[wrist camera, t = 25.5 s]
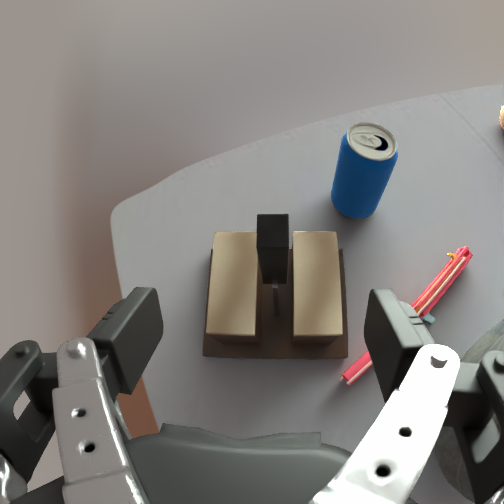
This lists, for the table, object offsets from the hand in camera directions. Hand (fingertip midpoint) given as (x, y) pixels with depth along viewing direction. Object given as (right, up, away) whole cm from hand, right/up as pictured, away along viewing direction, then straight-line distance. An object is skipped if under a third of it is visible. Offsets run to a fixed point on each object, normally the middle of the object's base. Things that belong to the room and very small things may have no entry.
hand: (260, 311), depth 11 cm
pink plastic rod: (+19, -6, +22) cm, 30 cm away
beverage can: (+13, +9, +29) cm, 33 cm away
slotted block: (+3, -4, +24) cm, 25 cm away
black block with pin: (+2, -3, +24) cm, 24 cm away
